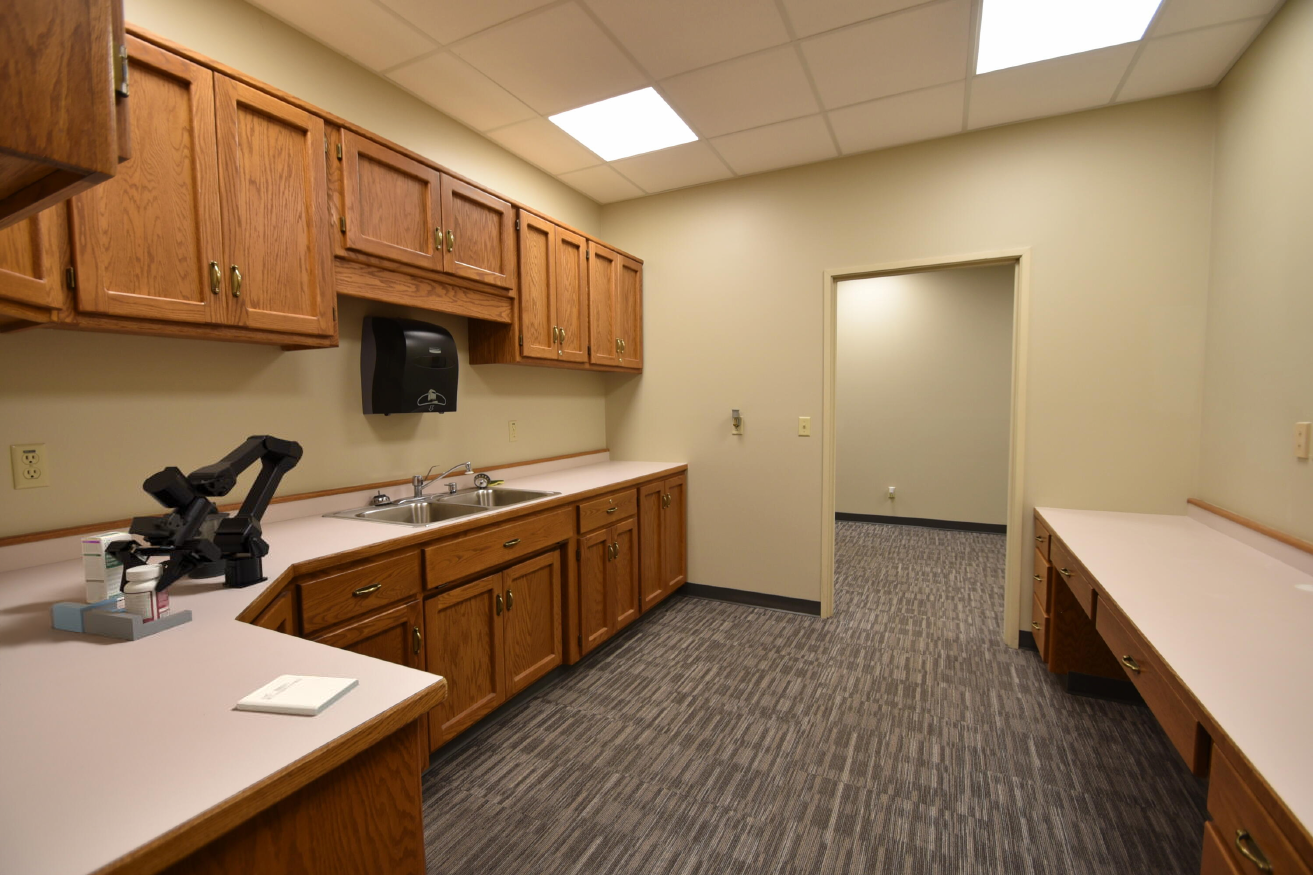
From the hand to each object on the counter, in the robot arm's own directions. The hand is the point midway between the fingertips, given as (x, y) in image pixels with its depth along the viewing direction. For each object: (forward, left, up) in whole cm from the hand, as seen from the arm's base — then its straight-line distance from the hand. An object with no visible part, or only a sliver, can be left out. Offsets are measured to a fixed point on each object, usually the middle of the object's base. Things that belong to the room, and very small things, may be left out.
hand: (139, 591), depth 104 cm
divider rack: (-1, -7, -7) cm, 10 cm away
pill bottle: (-1, 0, -7) cm, 7 cm away
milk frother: (-27, -28, -7) cm, 40 cm away
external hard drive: (+11, +52, -8) cm, 54 cm away
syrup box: (-9, -26, -7) cm, 29 cm away
